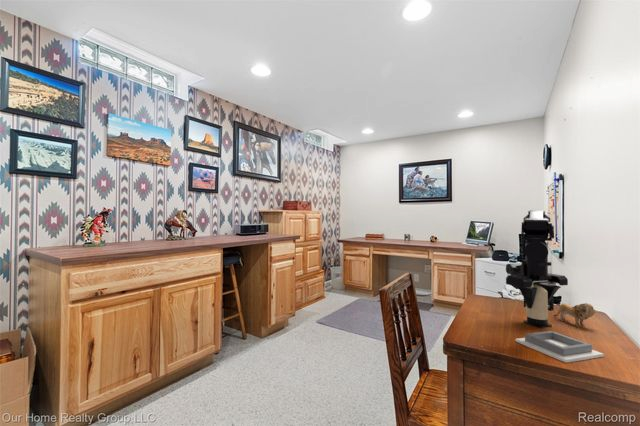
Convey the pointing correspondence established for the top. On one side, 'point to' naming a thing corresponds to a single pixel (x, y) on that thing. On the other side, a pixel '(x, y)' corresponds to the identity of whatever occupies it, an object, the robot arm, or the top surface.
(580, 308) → the lion figurine
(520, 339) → the candle tray
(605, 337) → the top surface
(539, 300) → the candle
